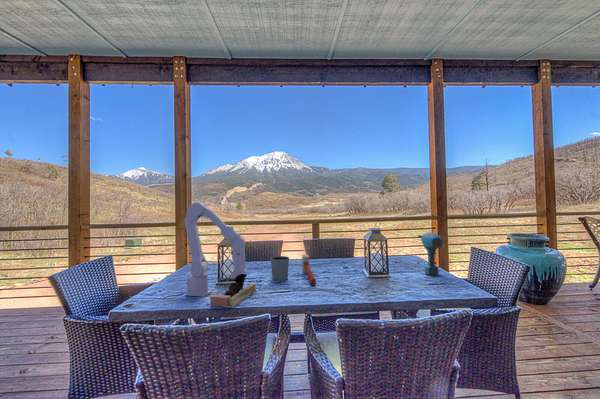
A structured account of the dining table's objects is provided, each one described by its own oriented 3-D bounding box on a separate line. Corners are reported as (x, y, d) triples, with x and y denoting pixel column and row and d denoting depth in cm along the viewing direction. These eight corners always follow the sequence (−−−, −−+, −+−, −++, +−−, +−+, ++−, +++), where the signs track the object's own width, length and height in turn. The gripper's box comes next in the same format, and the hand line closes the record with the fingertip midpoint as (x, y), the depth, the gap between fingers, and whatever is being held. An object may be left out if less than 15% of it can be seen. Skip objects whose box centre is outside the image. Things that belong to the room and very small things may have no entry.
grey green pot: (267, 279, 169) (267, 257, 169) (281, 275, 176) (281, 255, 176) (278, 283, 161) (278, 260, 161) (293, 279, 168) (292, 257, 168)
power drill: (412, 266, 190) (411, 229, 189) (426, 266, 189) (425, 229, 189) (430, 279, 162) (429, 235, 161) (447, 278, 161) (446, 235, 161)
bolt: (225, 308, 132) (234, 295, 147) (235, 302, 132) (243, 290, 147) (218, 296, 132) (227, 285, 147) (227, 291, 131) (236, 279, 146)
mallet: (316, 273, 155) (307, 253, 184) (309, 274, 154) (302, 254, 184) (316, 293, 156) (307, 270, 186) (309, 293, 156) (302, 270, 185)
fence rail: (228, 307, 128) (228, 299, 128) (251, 290, 150) (251, 283, 150) (232, 307, 127) (232, 299, 127) (255, 290, 149) (255, 283, 149)
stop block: (210, 306, 130) (210, 296, 130) (214, 303, 133) (214, 294, 133) (227, 307, 128) (227, 298, 128) (231, 304, 131) (230, 295, 131)
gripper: (240, 265, 139) (240, 295, 140) (253, 258, 153) (253, 285, 154) (226, 265, 141) (227, 294, 142) (240, 258, 155) (241, 284, 156)
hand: (240, 289), depth 148 cm, fingers closed
